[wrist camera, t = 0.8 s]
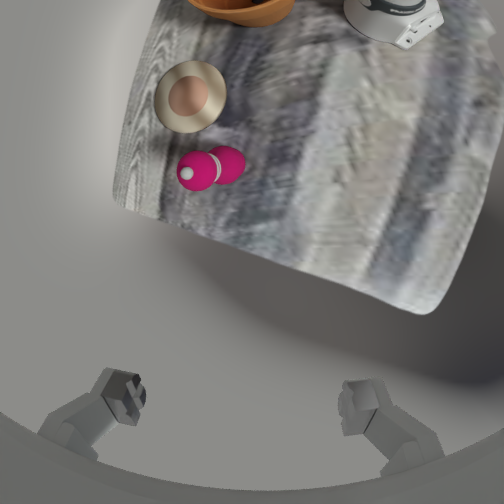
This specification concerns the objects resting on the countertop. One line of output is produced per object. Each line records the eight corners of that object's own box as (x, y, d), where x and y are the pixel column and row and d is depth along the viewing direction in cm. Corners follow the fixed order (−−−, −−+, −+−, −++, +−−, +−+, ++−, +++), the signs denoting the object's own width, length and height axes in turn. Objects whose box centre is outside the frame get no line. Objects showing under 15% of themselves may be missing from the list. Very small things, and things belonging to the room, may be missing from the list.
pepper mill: (254, 171, 52) (218, 184, 34) (223, 187, 55) (176, 209, 37) (237, 139, 51) (193, 136, 33) (207, 156, 54) (152, 164, 35)
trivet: (201, 48, 45) (198, 46, 44) (242, 102, 48) (240, 101, 47) (146, 95, 51) (143, 94, 50) (181, 148, 54) (178, 148, 53)
